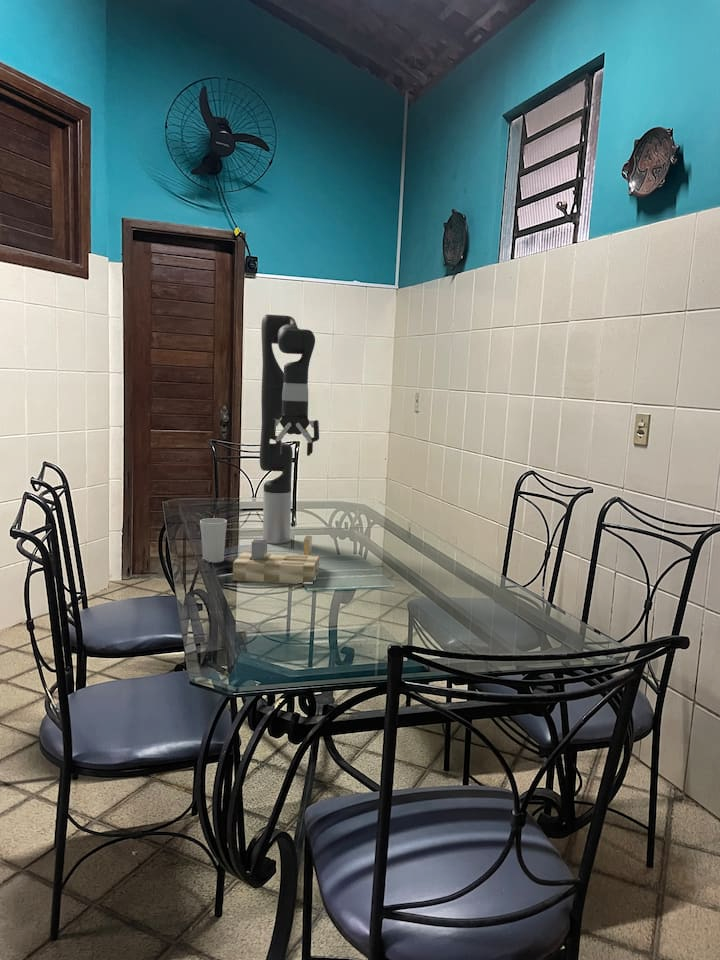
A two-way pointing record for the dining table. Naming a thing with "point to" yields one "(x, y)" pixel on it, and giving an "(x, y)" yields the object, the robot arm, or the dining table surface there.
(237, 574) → the socket block
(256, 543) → the square bit
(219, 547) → the cup
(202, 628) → the dining table surface
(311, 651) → the dining table surface
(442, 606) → the dining table surface
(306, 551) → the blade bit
